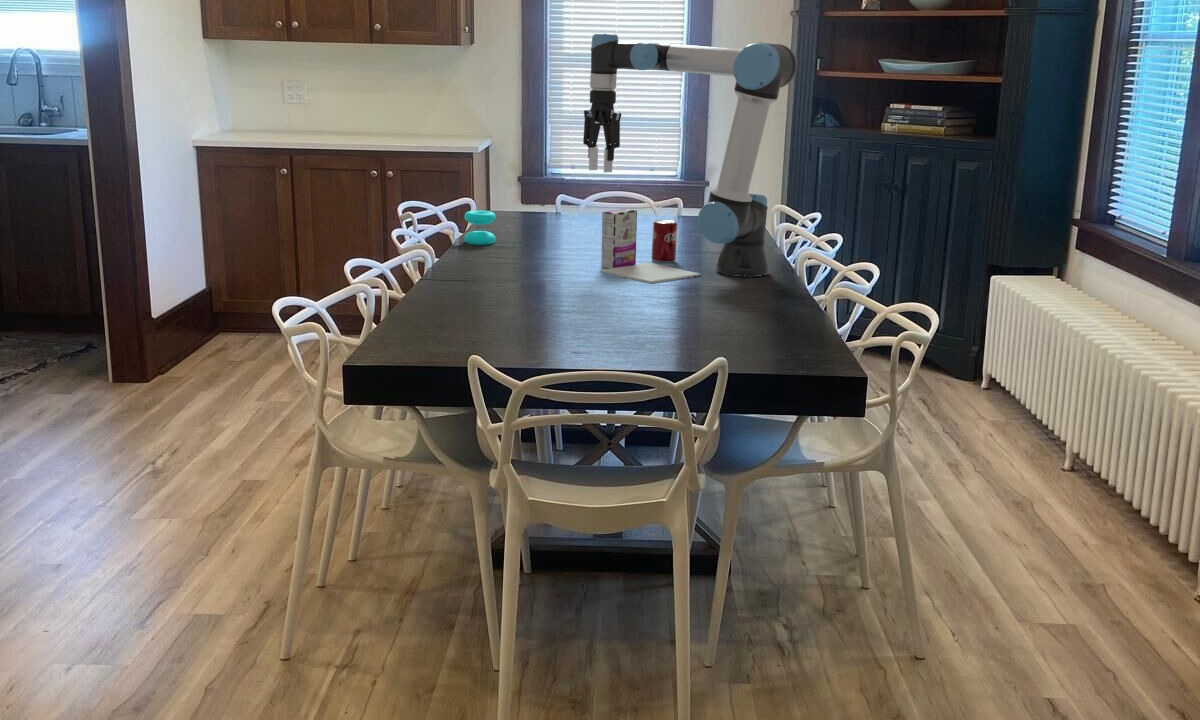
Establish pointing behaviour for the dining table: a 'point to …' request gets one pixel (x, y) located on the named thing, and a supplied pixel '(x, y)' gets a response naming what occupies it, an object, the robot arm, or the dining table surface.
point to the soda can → (664, 241)
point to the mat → (650, 272)
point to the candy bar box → (619, 238)
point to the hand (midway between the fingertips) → (600, 170)
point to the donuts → (479, 236)
